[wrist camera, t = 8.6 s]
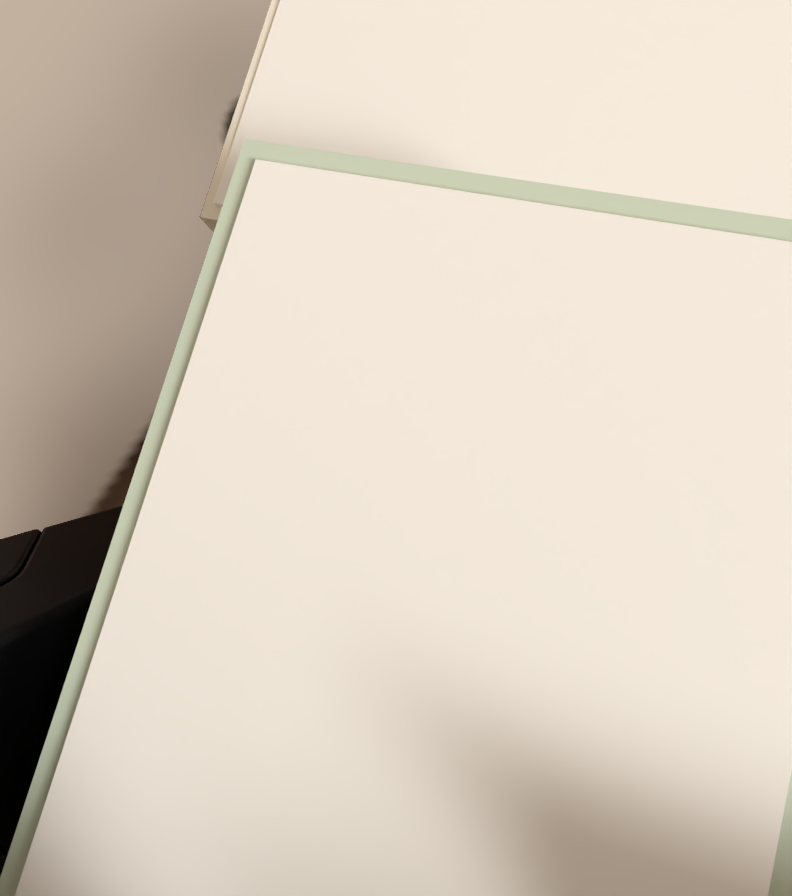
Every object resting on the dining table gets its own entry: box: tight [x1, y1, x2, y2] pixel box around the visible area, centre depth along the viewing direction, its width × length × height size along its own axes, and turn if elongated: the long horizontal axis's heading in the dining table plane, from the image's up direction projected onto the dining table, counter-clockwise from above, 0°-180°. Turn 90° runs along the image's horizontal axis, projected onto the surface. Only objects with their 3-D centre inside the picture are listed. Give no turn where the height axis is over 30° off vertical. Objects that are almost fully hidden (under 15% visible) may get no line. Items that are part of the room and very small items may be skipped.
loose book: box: [0, 139, 792, 896], centre depth 9 cm, size 4×7×11 cm, turn 164°
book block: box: [200, 0, 792, 232], centre depth 12 cm, size 10×5×8 cm, turn 74°
